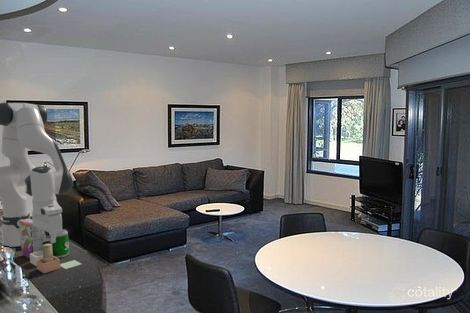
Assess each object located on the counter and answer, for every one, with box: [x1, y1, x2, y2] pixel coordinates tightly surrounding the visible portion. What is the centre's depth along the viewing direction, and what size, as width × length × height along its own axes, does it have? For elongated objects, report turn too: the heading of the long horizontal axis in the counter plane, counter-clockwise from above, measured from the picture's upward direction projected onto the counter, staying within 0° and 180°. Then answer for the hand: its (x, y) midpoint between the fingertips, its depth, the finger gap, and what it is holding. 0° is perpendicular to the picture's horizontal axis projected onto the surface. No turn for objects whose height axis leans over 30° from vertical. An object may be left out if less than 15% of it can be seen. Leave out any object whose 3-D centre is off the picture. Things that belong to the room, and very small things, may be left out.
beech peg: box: [42, 243, 53, 263], centre depth 166 cm, size 4×4×10 cm
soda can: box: [48, 228, 70, 259], centre depth 181 cm, size 8×8×12 cm
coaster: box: [60, 259, 82, 270], centre depth 171 cm, size 7×7×1 cm
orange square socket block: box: [36, 256, 61, 274], centre depth 166 cm, size 7×7×4 cm
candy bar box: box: [19, 218, 44, 259], centre depth 182 cm, size 11×5×16 cm, turn 53°
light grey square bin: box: [29, 250, 43, 267], centre depth 174 cm, size 7×7×4 cm
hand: (47, 240), depth 165 cm, fingers open, 8 cm apart
